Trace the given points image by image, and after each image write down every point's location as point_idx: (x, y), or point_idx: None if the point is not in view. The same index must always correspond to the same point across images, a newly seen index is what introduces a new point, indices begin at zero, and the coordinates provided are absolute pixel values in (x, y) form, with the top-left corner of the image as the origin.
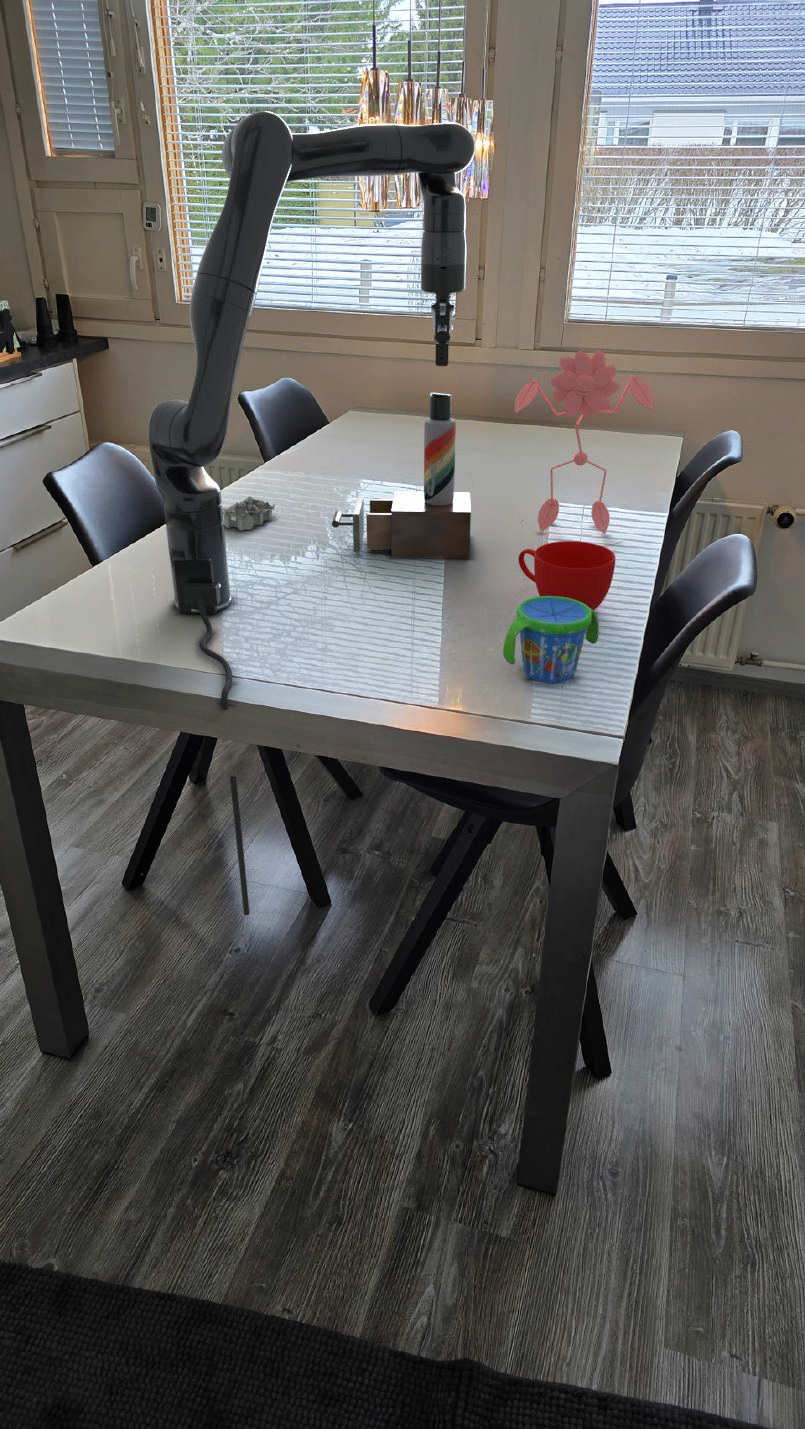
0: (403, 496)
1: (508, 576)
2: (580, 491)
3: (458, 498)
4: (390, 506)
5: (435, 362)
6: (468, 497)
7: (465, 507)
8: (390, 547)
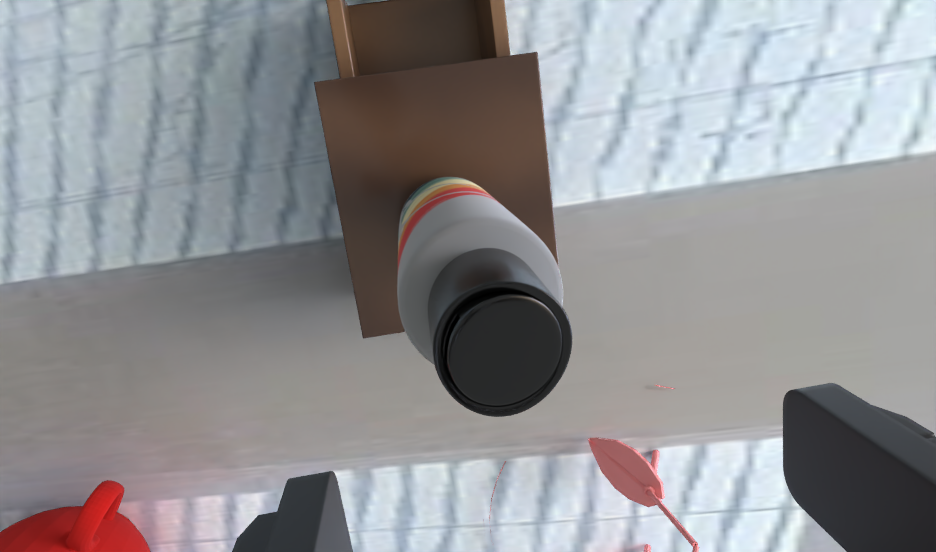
0: (487, 95)
1: (275, 400)
2: None
3: None
4: (492, 48)
5: (288, 487)
6: None
7: None
8: None
